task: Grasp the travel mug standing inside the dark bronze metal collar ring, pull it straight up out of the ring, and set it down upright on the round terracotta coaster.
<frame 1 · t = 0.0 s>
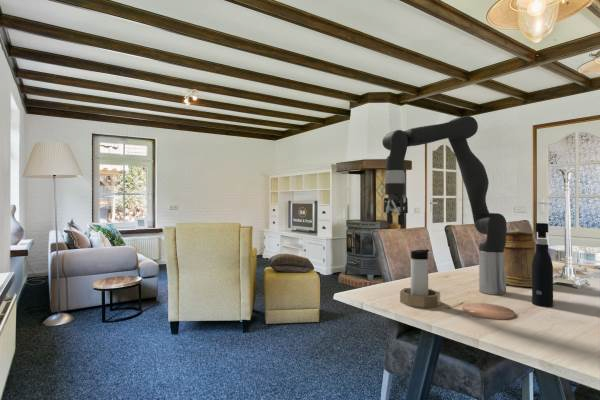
hand: (395, 224, 138), 29 cm above the table, tool pointing down, fingers open, 8 cm apart
coaster: (487, 311, 122), on the table
black water bottle: (542, 305, 131), on the table
tankard: (517, 282, 167), on the table
collar ring: (420, 302, 134), on the table
travel mug: (420, 303, 134), resting in collar ring
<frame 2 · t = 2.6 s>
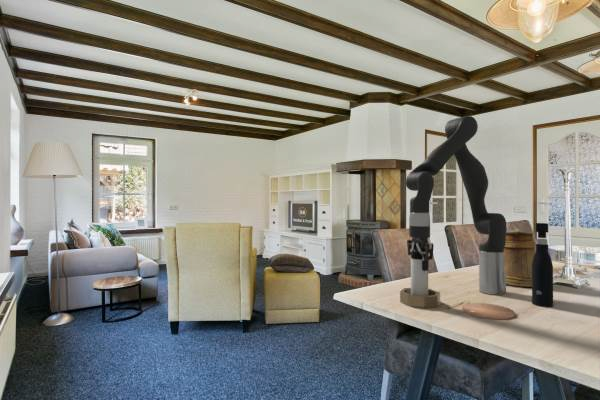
hand: (419, 268, 134), 13 cm above the table, tool pointing down, fingers closed on travel mug, 6 cm apart
travel mug: (420, 303, 134), resting in collar ring, touching gripper
everything else where it was.
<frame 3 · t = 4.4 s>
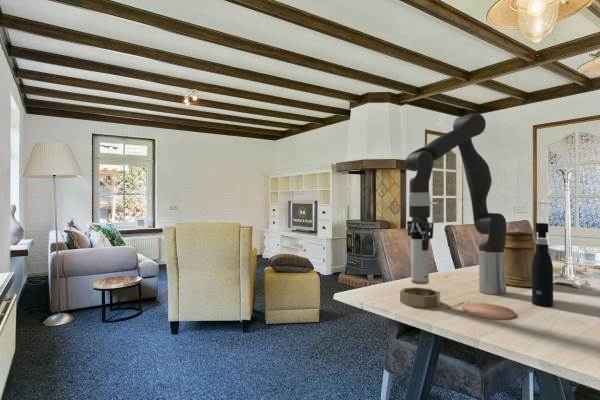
hand: (419, 249, 134), 20 cm above the table, tool pointing down, fingers closed on travel mug, 6 cm apart
travel mug: (420, 283, 134), point 7 cm above the table, touching gripper
everything else where it was.
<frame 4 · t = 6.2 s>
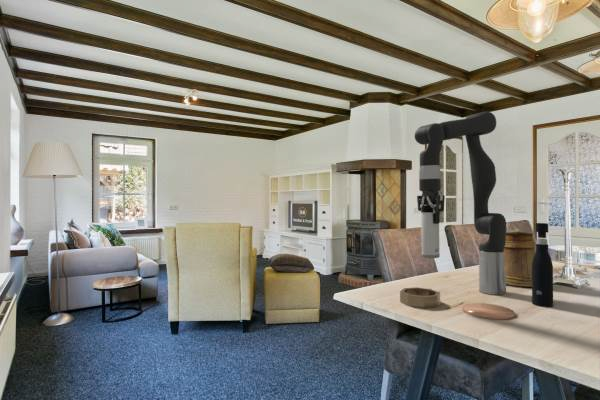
hand: (430, 222, 132), 30 cm above the table, tool pointing down, fingers closed on travel mug, 6 cm apart
travel mug: (431, 257, 132), point 17 cm above the table, touching gripper
everything else where it was.
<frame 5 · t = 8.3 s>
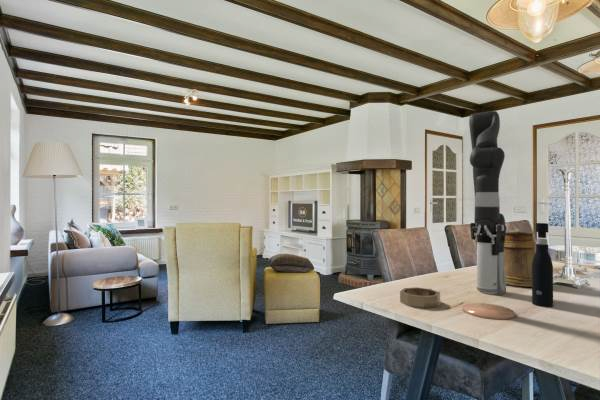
hand: (487, 253, 122), 20 cm above the table, tool pointing down, fingers closed on travel mug, 6 cm apart
travel mug: (487, 291, 122), point 7 cm above the table, touching gripper
everything else where it was.
when the fingers open (15 cm above the table, at t = 10.0 s): travel mug drops 2 cm, resting on coaster.
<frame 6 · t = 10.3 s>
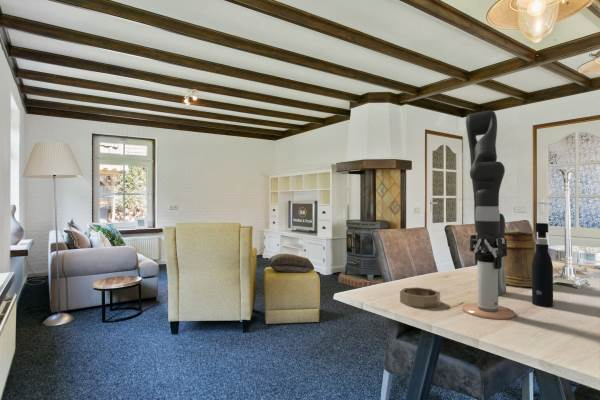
hand: (487, 266, 122), 16 cm above the table, tool pointing down, fingers open, 8 cm apart
travel mug: (488, 310, 122), point 1 cm above the table, touching coaster
everything else where it was.
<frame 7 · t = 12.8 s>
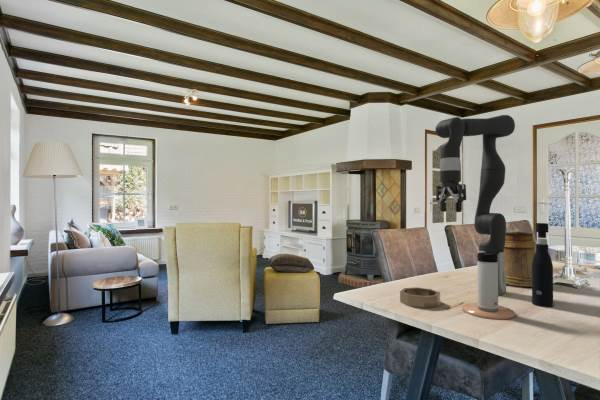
hand: (450, 211, 138), 34 cm above the table, tool pointing down, fingers open, 8 cm apart
nothing on the table moved.
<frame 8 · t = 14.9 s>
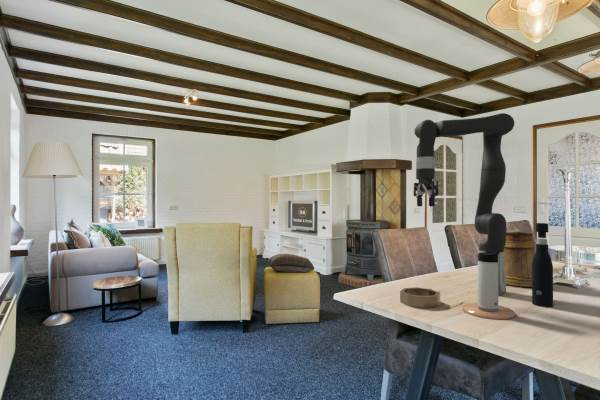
hand: (425, 206, 150), 36 cm above the table, tool pointing down, fingers open, 8 cm apart
nothing on the table moved.
at the end: travel mug inside the target area on the coaster (0.2 cm from its centre), point 0.6 cm above the coaster's base; travel mug tilted 0°; travel mug touching coaster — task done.
